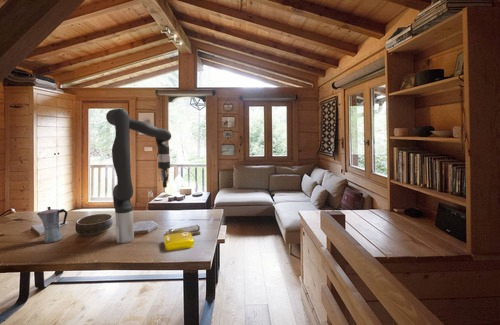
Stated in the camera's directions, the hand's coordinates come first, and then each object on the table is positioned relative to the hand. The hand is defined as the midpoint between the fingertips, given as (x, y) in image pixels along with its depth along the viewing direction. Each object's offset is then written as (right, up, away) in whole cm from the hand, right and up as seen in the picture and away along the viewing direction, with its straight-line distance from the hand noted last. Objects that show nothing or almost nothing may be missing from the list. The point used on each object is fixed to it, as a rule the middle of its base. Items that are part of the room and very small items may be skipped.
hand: (164, 187), depth 183 cm
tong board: (+15, -28, -11) cm, 33 cm away
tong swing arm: (+17, -26, -10) cm, 33 cm away
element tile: (+16, -30, -27) cm, 43 cm away
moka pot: (-59, -29, -19) cm, 68 cm away
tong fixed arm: (+16, -26, -12) cm, 33 cm away
